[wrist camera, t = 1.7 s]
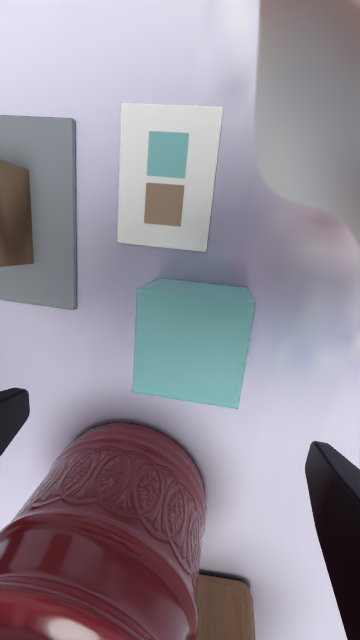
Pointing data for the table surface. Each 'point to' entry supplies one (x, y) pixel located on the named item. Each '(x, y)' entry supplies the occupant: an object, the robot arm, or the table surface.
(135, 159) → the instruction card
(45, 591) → the canister
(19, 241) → the walnut block
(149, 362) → the teal block
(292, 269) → the table surface
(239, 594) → the wooden block
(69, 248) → the mat
